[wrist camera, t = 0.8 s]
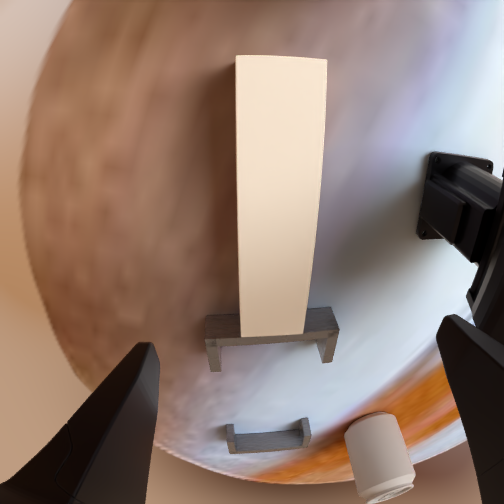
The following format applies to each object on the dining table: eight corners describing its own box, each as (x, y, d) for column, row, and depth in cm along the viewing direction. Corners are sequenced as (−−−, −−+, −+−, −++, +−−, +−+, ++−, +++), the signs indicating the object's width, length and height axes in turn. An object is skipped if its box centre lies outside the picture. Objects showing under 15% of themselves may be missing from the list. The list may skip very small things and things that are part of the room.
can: (402, 412, 35) (428, 482, 25) (363, 437, 38) (382, 504, 28) (374, 405, 33) (401, 487, 22) (331, 432, 36) (349, 509, 25)
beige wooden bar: (306, 64, 15) (327, 59, 11) (292, 295, 23) (302, 333, 20) (235, 62, 15) (236, 55, 11) (239, 298, 23) (241, 337, 19)
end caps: (330, 307, 23) (339, 329, 21) (304, 431, 34) (307, 447, 32) (206, 315, 23) (204, 339, 21) (229, 437, 34) (229, 453, 32)
